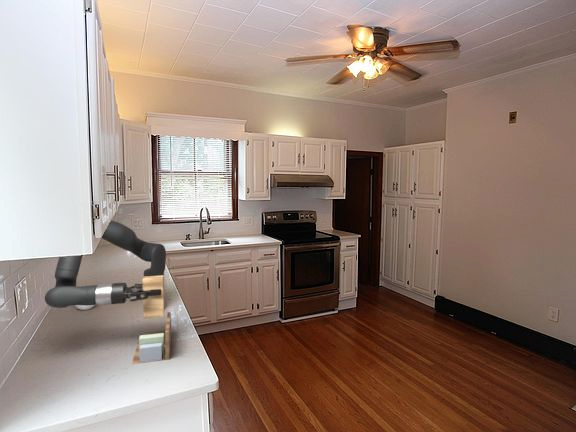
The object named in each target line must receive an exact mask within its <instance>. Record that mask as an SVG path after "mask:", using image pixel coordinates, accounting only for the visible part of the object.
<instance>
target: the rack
mask: <svg viewBox="0 0 576 432" xmlns="http://www.w3.org/2000/svg"><path fill="white" fill-rule="evenodd" d="M158 333H164V355H163V356H162V360H156V361H148V362H140V358H139V340H138V342H137V345H136V348H135V352H134V354H133V358H132V361H131V365H137V364H144V363H145V364H146V363H151V362H152V363H153V362H154V363H155V362H161V361H169V360H170V356H171V355H170V354H171V342H172V341H171V340H172V312H171V311H168V312H167V314H166V323H165V330H161V331H150V332H141V333H140V335H149V334H158Z"/></svg>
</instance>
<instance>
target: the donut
mask: <svg viewBox="0 0 576 432" xmlns="http://www.w3.org/2000/svg"><path fill="white" fill-rule="evenodd" d="M74 306H75V308H76V309H78V310H81V311H87V310H91V309H92V308H93V307H94V306H95V305H87V306H84V305H74Z"/></svg>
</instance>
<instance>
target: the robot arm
mask: <svg viewBox="0 0 576 432" xmlns="http://www.w3.org/2000/svg"><path fill="white" fill-rule="evenodd" d="M110 220H111V219H110ZM136 234H137V233H136V232H135V231H134V230H133V229H131V228H130V227H128V226H127V225H125V224H123V223H121V222H119V221H115V220H111V222H110V223H109V225H108V227H107V229H106V230H105V232H104V234H103V236H102V238H101V239H102V240H105V241H106V242H109V243H111V245H114V246H116V247H118V248H121V249H123V250H124V251H128V252H130V253H132V254H134V255H135V256H136V257H138V258H139V259H140V260H141V261H144V262H148V263H150V268H147V269H145V270H144V271H143V278H144V277H146V276H163V277H164V278H165V270H166V263H167V261H166V260H167V259H166V258H167V252H166V247H165V245H164V244H162V243H157V242H155V243H153V242H148V241H144V240H142V239H140V238H139V237H138V235H136ZM83 256H84V254H83V255H81V256H67V257H60V256H59V257H58V261H57V264H56V267H55V272H54V279H55V285H54V286H55V287H52V288H50V289H49V290H47V291H46V293H45V296H44V302H45V304H46V305H47V306H49V307H50V308H55V309H65V308H67V307H72V306H75V305H84V306H87V305H94V306H96V305H97V306H98V305H99V306H105V305H106V306H107V305H117V304H118V305H119V304H126V303H127V299H129V302H137V301H143V299H147V298H148V297H150V296H158V295H161V289H155V290H144V289H143V283H135V284H134V285H131V286H127V283H126V282H112V283H102V284H93V285H84V286H83V285H82V286H78V285H77V278H78V275H79V271H80V267H81V264H82V260H83Z"/></svg>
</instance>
